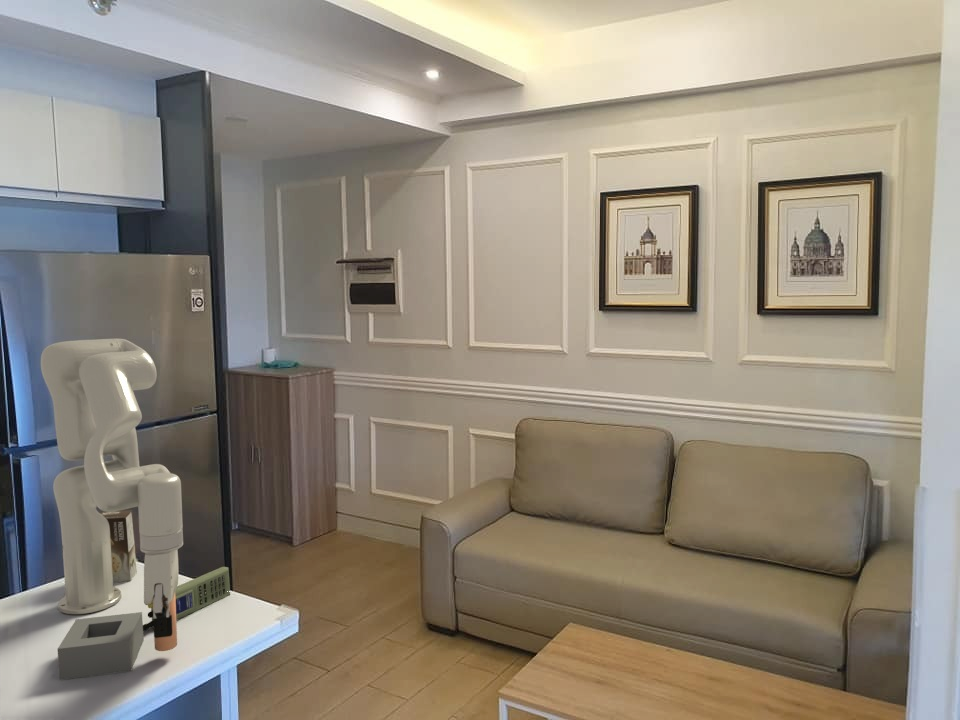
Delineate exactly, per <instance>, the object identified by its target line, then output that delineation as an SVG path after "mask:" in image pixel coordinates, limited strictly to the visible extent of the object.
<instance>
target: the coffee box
mask: <svg viewBox="0 0 960 720" xmlns="http://www.w3.org/2000/svg"><path fill="white" fill-rule="evenodd" d="M98 512H99V513H100V514H102V515H103V516H104V517H105V518H106V519H107V521H108V523H109V527H110V540H111V557H112V573H113V583H116V582H118V583H119V582H130V581H132V579H133V578H134V577H135V575H136V574H137V572H138V569H137V560H136V559H137V557H136V545H135V529H134V514H133V512H134V511H133V510H132V509H130V510H129V509H126V510H120V511H115V512H105V511H98Z"/></svg>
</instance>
